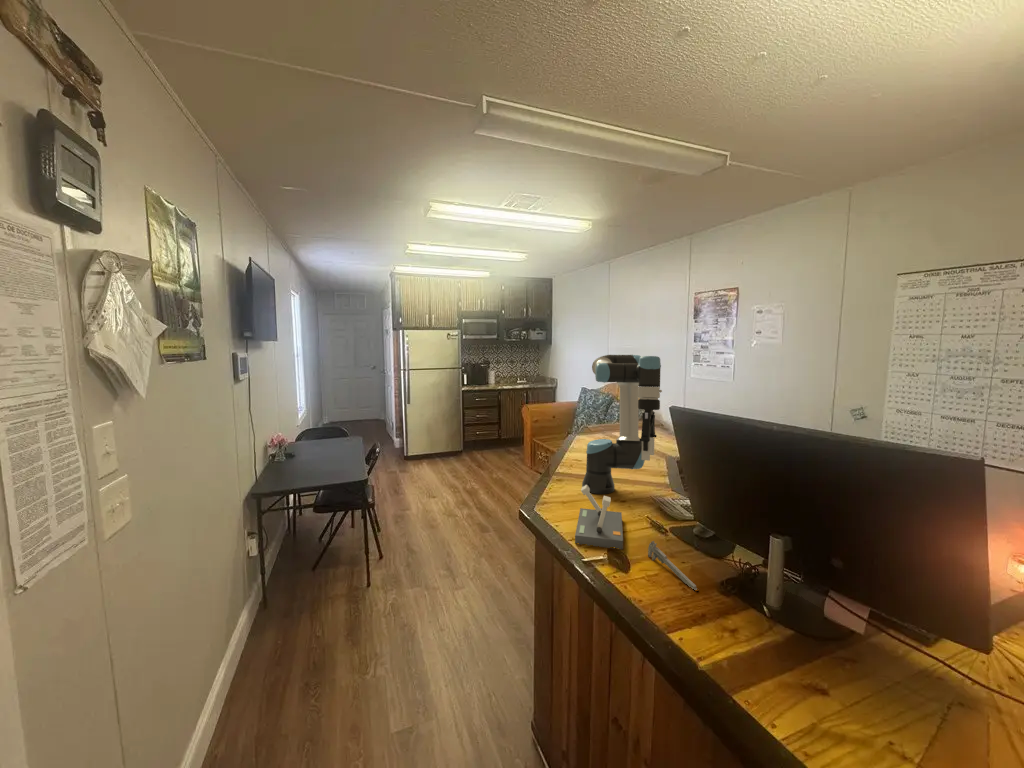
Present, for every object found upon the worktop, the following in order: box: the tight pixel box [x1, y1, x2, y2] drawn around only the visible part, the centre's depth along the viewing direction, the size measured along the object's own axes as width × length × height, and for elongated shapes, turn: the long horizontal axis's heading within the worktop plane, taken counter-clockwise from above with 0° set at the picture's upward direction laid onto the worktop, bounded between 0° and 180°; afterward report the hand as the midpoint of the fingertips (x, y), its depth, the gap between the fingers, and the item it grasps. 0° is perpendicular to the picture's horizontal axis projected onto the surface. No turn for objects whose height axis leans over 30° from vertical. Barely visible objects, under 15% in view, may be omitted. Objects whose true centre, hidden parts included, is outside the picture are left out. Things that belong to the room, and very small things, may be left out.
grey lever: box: [597, 495, 612, 533], centre depth 143 cm, size 4×2×12 cm, turn 166°
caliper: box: [647, 540, 698, 591], centre depth 123 cm, size 20×1×6 cm, turn 21°
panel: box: [574, 507, 624, 550], centre depth 151 cm, size 24×16×3 cm, turn 166°
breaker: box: [580, 485, 602, 516], centre depth 158 cm, size 4×2×12 cm
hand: (648, 457), depth 148 cm, fingers open, 13 cm apart
